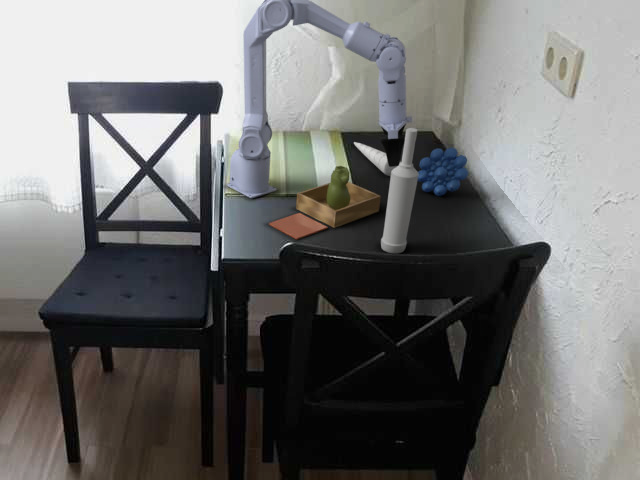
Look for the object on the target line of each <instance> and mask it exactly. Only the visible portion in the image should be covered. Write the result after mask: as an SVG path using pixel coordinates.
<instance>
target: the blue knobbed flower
mask: <svg viewBox="0 0 640 480" xmlns="http://www.w3.org/2000/svg"><path fill="white" fill-rule="evenodd" d="M458 153H459V152H458V149H457V148H455V147H449V148H446V150H443V149H442V148H439V147H438V148H437V147H436V148H435V149H432V151H431V152H430V155H429V157H428V156H426V157H423V158H421V160H420V161H419V164H418V165H419V168H420V169H421V170H419V171H417V172H418V174H419V175H418V180H417V182H420V183H422V185H421V189H422V191H423V192H424V193H430V192H432V191H433V194H434V195H435V196H437V197H441V196H444V195H445V194H446V193H447V191H449V192H451V193H452V192H455V191H457V190H459V188H460V186H461V182H460V181H463V180H466V179H467V178H468V176H469V170H468V168H466V165H467V164H468V158H467V157H466V155H463V154H460V155H458Z"/></svg>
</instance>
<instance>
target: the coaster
mask: <svg viewBox="0 0 640 480" xmlns="http://www.w3.org/2000/svg"><path fill="white" fill-rule="evenodd" d="M268 226H270V227H272V228H274V229H276V230H278V231H280V232H281V233H283V234H285V235H287V236H288V237H291V238H293V239H294V240H296V241H297V240H301V239H303V238H306V237H308V236H311V235H315V234H317V233H319V232H322V231H326V230H328V226H326V225H324V223H322V222H321V223H320V222H319V221H318V220H317V221H316V219H314V218H313V219H312V217H310V216H306V215H304V213H302V212H301V213H300V212H298V213H294V214H291V215H289V216H286V217H283V218H280V219H277V220H274V221H271V222H268Z"/></svg>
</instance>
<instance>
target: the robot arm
mask: <svg viewBox="0 0 640 480" xmlns="http://www.w3.org/2000/svg"><path fill="white" fill-rule="evenodd" d="M291 21H292V26H299V25H300V26H301V25H305V24H308V25H312V26H313V27H315V28H318V29H320V30H321V31H324V32H326V33H329V34H331V35H333V36H335V37H337V38H339V39H341V40H342V42H343V46H344V49H346V50H348V51H351V52H352V53H354V54H356V55H358V56H359V57H361V58H363V59H365V60H367V61H369V62H373V63H375V64H376V66H377V68H378V79H377V86H378V87H377V88H378V115H379V116H378V117H379V118H378V126H380V128H381V130H382V132H383V134H380V135H379V141H380V143H381V145H382V147H383V149H384V151H385V152H384V153H386V156H387V161H388V164H389V167H394V166H399V163H400V162H401V159H402V153H403V149H404V143H405V135H406V134H404V133H403V132H404V130H405V129H406V128H405V127H406V125H407V123H412V122H413V116H409V115H407V76H406V74H405V73H406V67H405V64H406V61H407V57H406V51H407V50H406V47H405V44H404V43H403V41H401V40H400V39H399V38H398V37H396V36H391V34H389V33H385V34H383V33H382V32H380V31H378V30H376V29H375V28H372V27H370V26H371V23H370V22H368V21H364V22H361V21H355V22H352V23H349V22H347V21H346V20H344V19H342V18H340V17H338V15H336V14H333V13H332V12H330V11H328V10H327V9H326V8H323V7H322V6H320V5H318V4H316V3H315V2H313V1H311V0H264V1H263V2H262V3H261V4H260V5H259V6H258V7H257V9H255V12H254V14H253V15H252V17H251V18H250V20H249V22H248V24H247V25H246V27H245V29H244V30H243V83H244V84H243V85H244V87H243V88H244V89H243V91H244V116H243V122H242V134H241V136H240V138H239V141H238V148H237V149H235V150H234V152H233V153H232V155H231V158H230V160H229V163H230V164H229V183H227V184H226V186H227V187H228V188H230V189H232V190H234V191H235V192H238V193H240V194H242V195H244V196H246V197H247V198H248V199H249V198H250V199H255V198H258V197H261V196H264V195H268V194H271V193H273V192H276V191H277V188H276V187H274V186H271V185H270V173H271V172H270V170H271V153H272V152H271V150H270V149H269V148H270V147H269V146H268V145H269V143H270V142H271V140H272V137H273V130H272V127H271V125H270V123H269V115H268V111H267V40H268V39H269V38H270V37H271V36H272V35H273V33H276V32H279V30H283V29H284V28H286V27H287V26H288V25H289V23H290V22H291Z"/></svg>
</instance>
